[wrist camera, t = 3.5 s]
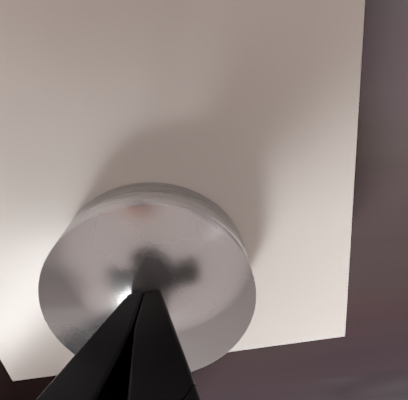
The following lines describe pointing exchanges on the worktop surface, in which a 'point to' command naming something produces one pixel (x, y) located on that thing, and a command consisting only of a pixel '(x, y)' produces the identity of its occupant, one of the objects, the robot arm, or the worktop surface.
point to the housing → (182, 143)
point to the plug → (151, 268)
